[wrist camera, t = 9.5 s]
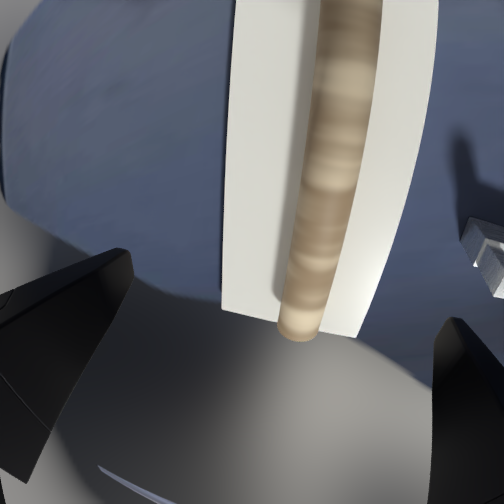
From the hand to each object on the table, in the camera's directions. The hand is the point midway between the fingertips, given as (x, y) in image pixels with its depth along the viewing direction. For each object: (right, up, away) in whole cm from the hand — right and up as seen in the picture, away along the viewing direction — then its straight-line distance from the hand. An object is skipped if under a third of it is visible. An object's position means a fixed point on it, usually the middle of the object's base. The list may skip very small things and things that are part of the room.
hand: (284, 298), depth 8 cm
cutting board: (+3, +6, +10) cm, 13 cm away
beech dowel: (+3, +5, +8) cm, 10 cm away
